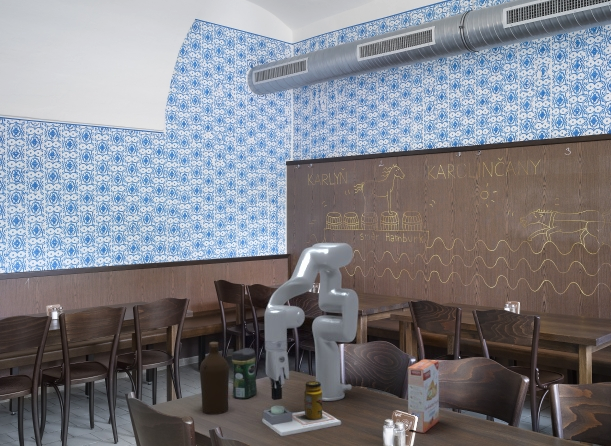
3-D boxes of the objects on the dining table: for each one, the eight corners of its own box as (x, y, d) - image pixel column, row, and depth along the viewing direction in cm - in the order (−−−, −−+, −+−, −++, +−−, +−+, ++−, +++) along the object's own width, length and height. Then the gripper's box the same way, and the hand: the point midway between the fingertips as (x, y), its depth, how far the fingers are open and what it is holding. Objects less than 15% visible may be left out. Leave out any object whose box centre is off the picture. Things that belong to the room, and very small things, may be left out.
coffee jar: (243, 391, 254) (242, 346, 254) (259, 393, 250) (258, 347, 250) (229, 397, 246) (228, 350, 246) (246, 400, 242) (244, 352, 242)
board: (319, 411, 226) (318, 400, 226) (340, 424, 211) (340, 412, 211) (262, 422, 216) (262, 410, 216) (281, 436, 201) (281, 423, 201)
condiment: (327, 418, 214) (326, 383, 214) (306, 423, 209) (305, 387, 209) (316, 413, 220) (315, 378, 220) (295, 417, 216) (294, 382, 215)
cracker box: (425, 434, 200) (424, 369, 200) (407, 431, 204) (406, 367, 203) (440, 421, 212) (439, 360, 212) (423, 418, 216) (422, 358, 215)
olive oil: (227, 414, 225) (226, 345, 224) (198, 415, 225) (196, 345, 225) (231, 405, 235) (230, 339, 235) (203, 406, 235) (201, 340, 235)
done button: (280, 413, 217) (280, 405, 217) (286, 417, 213) (286, 408, 213) (269, 415, 215) (269, 406, 215) (274, 419, 211) (274, 410, 211)
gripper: (295, 347, 209) (296, 403, 209) (277, 340, 222) (278, 392, 222) (274, 350, 205) (275, 406, 205) (257, 342, 219) (258, 395, 219)
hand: (276, 398), depth 214 cm, fingers closed
